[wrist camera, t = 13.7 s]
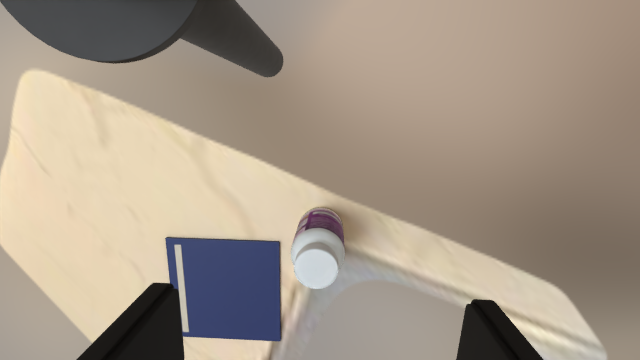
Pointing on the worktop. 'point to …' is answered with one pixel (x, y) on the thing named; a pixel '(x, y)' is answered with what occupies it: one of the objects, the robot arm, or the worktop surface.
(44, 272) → the worktop surface
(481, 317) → the robot arm
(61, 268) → the worktop surface
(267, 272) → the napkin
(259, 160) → the worktop surface
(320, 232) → the pill bottle
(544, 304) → the worktop surface
